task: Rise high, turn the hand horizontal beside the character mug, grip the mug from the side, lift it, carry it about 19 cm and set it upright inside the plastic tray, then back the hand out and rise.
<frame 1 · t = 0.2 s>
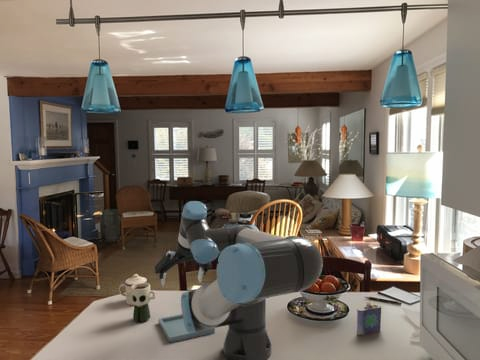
hand: (181, 281, 143), 16 cm above the kitchen counter, tool tilted 35°, fingers open, 13 cm apart
tray: (185, 327, 140), on the kitchen counter
flask: (368, 333, 135), on the kitchen counter
teacup with lid: (133, 301, 165), on the kitchen counter
character mug: (141, 320, 147), on the kitchen counter
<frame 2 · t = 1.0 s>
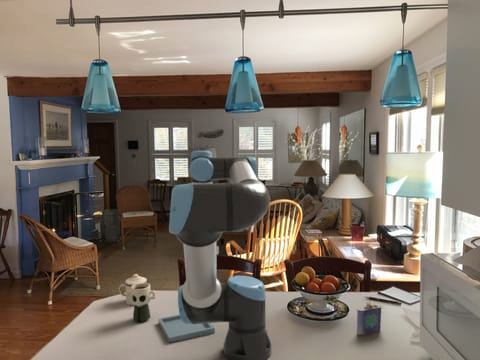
hand: (203, 250, 143), 26 cm above the kitchen counter, tool pointing down, fingers open, 13 cm apart
nothing on the kitchen counter moved.
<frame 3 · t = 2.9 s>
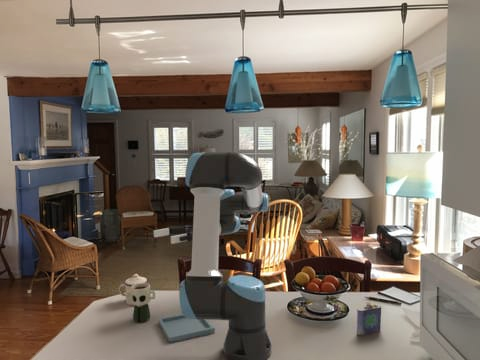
hand: (162, 236, 151), 30 cm above the kitchen counter, tool horizontal, fingers open, 13 cm apart
nothing on the kitchen counter moved.
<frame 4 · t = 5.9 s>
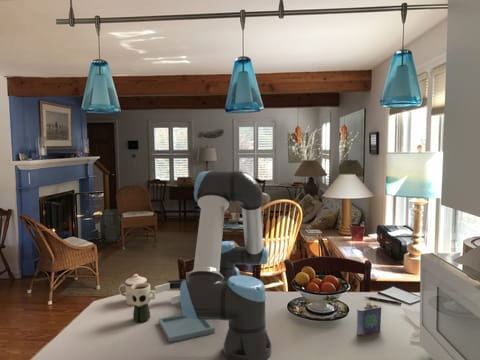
hand: (163, 295, 153), 7 cm above the kitchen counter, tool horizontal, fingers open, 13 cm apart
nothing on the kitchen counter moved.
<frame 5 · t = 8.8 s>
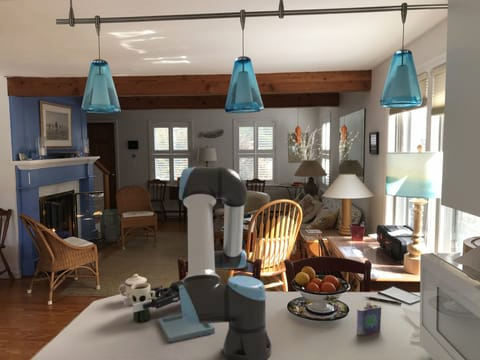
hand: (128, 304, 144), 7 cm above the kitchen counter, tool horizontal, fingers closed on character mug, 8 cm apart
character mug: (141, 319, 147), on the kitchen counter, touching gripper
everything else where it was.
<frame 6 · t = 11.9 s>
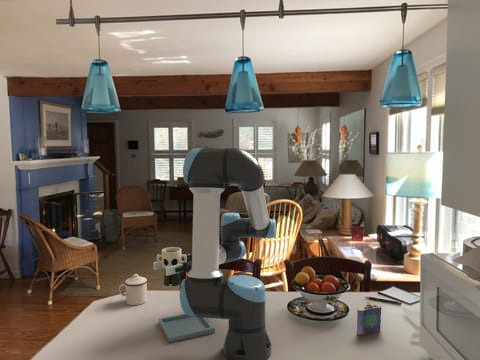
hand: (160, 268, 137), 22 cm above the kitchen counter, tool horizontal, fingers closed on character mug, 8 cm apart
character mug: (172, 285, 141), point 15 cm above the kitchen counter, touching gripper
everything else where it was.
when the fingers open (9 cm above the kitchen counter, at t = 15.2 s): character mug drops 2 cm, resting on tray.
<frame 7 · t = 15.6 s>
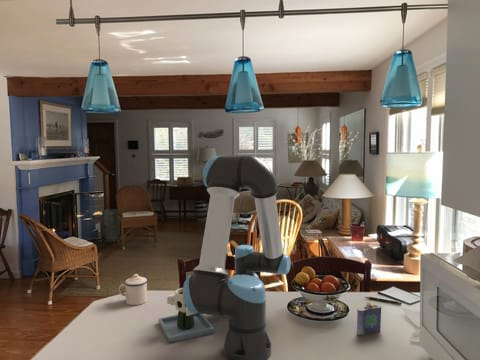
hand: (176, 305, 137), 9 cm above the kitchen counter, tool horizontal, fingers open, 12 cm apart
character mug: (185, 326, 140), resting on tray
everything else where it was.
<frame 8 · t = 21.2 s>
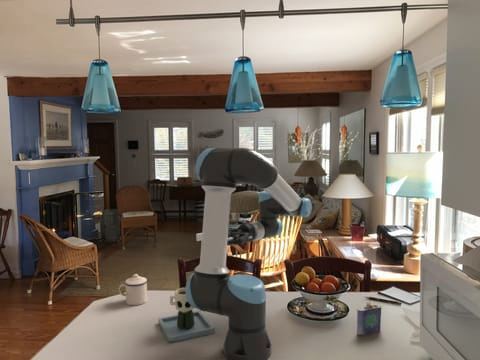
hand: (206, 240, 144), 30 cm above the kitchen counter, tool horizontal, fingers open, 13 cm apart
nothing on the kitchen counter moved.
at the end: character mug inside the target area on the tray (0.1 cm from its centre), point 0.4 cm above the tray's base; character mug tilted 0°; the gripper is holding nothing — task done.
